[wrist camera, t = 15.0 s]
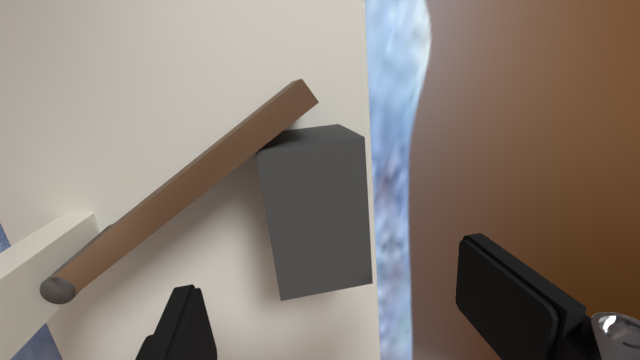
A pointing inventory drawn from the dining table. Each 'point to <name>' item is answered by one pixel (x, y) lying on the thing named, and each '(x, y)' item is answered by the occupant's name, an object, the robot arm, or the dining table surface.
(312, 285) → the block
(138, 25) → the cream base with post
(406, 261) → the dining table surface
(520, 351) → the robot arm
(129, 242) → the wooden slat
